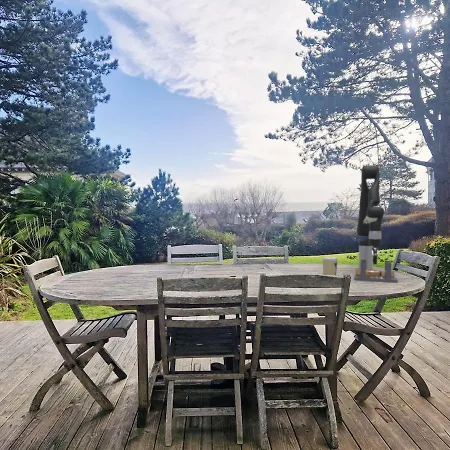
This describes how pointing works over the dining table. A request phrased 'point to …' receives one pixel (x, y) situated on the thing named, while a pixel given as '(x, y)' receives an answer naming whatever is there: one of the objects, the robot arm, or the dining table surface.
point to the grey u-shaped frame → (376, 278)
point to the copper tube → (374, 273)
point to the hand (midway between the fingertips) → (374, 263)
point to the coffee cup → (329, 265)
